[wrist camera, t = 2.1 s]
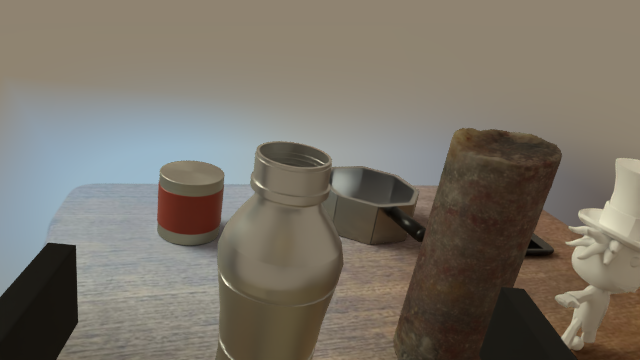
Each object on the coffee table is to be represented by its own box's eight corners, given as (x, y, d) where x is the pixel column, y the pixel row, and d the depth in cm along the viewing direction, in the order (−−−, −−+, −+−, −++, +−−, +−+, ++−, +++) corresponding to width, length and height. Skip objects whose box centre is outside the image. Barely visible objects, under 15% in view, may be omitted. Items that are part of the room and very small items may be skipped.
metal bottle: (239, 395, 36) (274, 124, 28) (321, 446, 33) (384, 160, 25) (171, 460, 30) (193, 147, 23) (263, 528, 27) (321, 196, 20)
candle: (489, 409, 38) (582, 164, 31) (393, 393, 38) (463, 143, 31) (467, 342, 45) (539, 129, 38) (387, 328, 45) (442, 113, 38)
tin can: (143, 234, 53) (145, 173, 51) (179, 210, 59) (182, 155, 57) (199, 252, 52) (203, 190, 49) (230, 227, 58) (236, 170, 55)
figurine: (573, 393, 41) (664, 194, 34) (503, 333, 47) (568, 154, 40) (644, 364, 46) (735, 185, 40) (572, 313, 52) (641, 151, 46)
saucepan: (301, 202, 67) (307, 167, 65) (376, 197, 73) (383, 165, 71) (371, 277, 53) (381, 235, 51) (458, 264, 58) (470, 226, 56)
